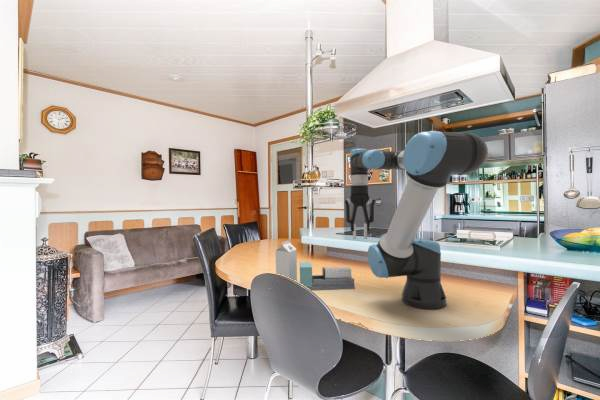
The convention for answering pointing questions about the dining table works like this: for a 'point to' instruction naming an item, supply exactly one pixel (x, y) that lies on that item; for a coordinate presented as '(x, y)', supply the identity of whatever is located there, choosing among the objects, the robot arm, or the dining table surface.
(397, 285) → the dining table surface
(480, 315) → the dining table surface
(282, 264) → the milk carton
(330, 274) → the sliding block
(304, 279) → the socket housing
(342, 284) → the guide channel
